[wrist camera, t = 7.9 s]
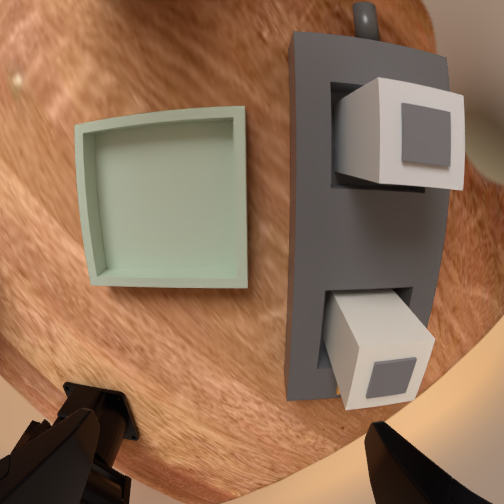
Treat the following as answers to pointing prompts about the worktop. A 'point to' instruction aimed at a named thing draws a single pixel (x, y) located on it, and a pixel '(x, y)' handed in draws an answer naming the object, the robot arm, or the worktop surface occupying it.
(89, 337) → the worktop surface
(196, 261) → the tray
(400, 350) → the iec plug
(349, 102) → the twin plug
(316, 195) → the strip
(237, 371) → the worktop surface
